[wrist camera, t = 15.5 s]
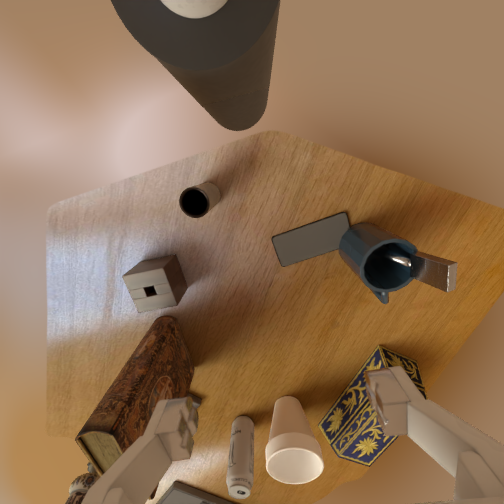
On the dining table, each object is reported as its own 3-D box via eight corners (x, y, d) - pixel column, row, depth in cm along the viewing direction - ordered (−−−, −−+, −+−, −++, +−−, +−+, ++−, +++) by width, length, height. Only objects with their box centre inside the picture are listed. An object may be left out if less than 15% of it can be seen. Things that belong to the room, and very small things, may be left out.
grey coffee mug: (335, 227, 46) (358, 245, 36) (383, 217, 45) (420, 233, 35) (342, 284, 50) (363, 315, 40) (386, 276, 49) (419, 305, 39)
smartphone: (270, 238, 47) (346, 211, 44) (270, 236, 47) (344, 210, 45) (281, 268, 49) (354, 244, 46) (281, 266, 50) (353, 242, 47)
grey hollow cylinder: (200, 209, 45) (184, 220, 36) (193, 185, 44) (175, 190, 34) (223, 204, 45) (213, 215, 35) (217, 180, 44) (205, 184, 34)
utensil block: (140, 261, 50) (121, 276, 43) (175, 254, 49) (162, 267, 42) (153, 294, 52) (138, 313, 46) (188, 287, 51) (177, 305, 45)
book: (152, 318, 54) (70, 433, 31) (174, 314, 54) (108, 428, 30) (174, 372, 60) (119, 505, 36) (195, 369, 59) (153, 502, 36)
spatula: (358, 237, 46) (449, 265, 30) (364, 235, 46) (457, 262, 30) (359, 256, 47) (447, 292, 31) (365, 254, 47) (455, 289, 32)
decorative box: (317, 425, 65) (326, 464, 56) (378, 344, 55) (400, 377, 47) (352, 436, 66) (365, 476, 57) (417, 359, 56) (445, 393, 48)
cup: (320, 405, 62) (336, 467, 49) (286, 427, 66) (293, 491, 53) (288, 380, 60) (296, 439, 47) (254, 405, 63) (253, 466, 50)
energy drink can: (236, 411, 64) (230, 481, 50) (257, 417, 64) (257, 488, 50) (229, 425, 66) (221, 496, 52) (249, 431, 66) (247, 503, 52)
